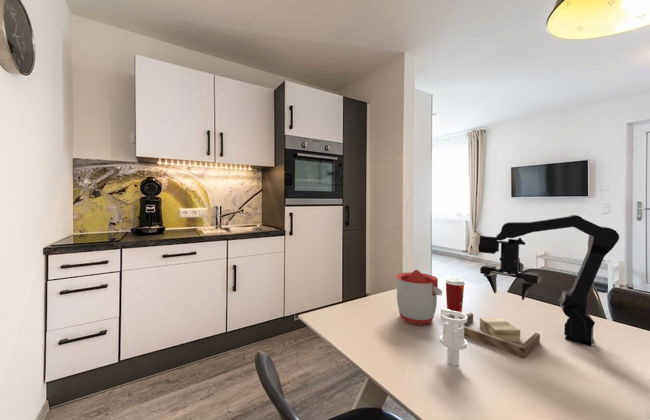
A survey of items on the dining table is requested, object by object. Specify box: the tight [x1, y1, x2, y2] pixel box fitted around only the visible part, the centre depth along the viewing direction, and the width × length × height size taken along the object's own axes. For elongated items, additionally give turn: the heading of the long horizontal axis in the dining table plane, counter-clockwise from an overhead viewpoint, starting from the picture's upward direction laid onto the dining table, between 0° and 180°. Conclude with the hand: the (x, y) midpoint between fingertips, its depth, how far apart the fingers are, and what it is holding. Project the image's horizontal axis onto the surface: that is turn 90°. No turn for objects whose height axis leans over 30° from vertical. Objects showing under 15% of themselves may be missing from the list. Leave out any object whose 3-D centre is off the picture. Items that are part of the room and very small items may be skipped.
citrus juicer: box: [396, 269, 443, 326], centre depth 108 cm, size 16×17×20 cm
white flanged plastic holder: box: [439, 307, 468, 366], centre depth 79 cm, size 7×7×15 cm
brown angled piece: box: [459, 312, 541, 360], centre depth 95 cm, size 22×15×3 cm
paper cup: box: [444, 277, 466, 313], centre depth 116 cm, size 8×8×14 cm
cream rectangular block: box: [479, 317, 521, 342], centre depth 97 cm, size 10×8×4 cm
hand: (508, 296), depth 104 cm, fingers open, 9 cm apart
